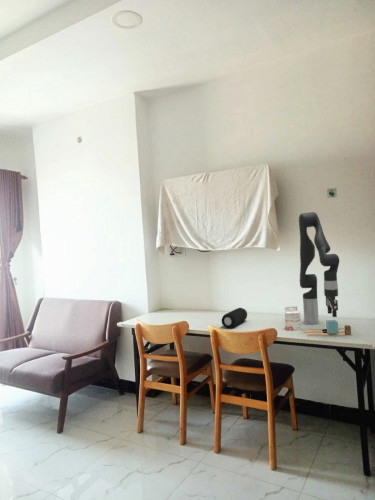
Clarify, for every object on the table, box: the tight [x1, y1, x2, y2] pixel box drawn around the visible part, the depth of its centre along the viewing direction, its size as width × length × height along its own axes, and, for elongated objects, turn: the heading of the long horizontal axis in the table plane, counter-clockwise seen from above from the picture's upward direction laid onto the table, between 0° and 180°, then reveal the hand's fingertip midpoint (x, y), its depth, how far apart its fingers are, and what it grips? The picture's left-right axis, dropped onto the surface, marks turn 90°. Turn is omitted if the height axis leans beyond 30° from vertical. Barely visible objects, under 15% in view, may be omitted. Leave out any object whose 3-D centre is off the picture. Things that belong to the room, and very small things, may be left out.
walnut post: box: [343, 324, 352, 336], centre depth 206 cm, size 3×3×5 cm
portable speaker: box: [221, 307, 248, 329], centre depth 249 cm, size 26×10×10 cm, turn 148°
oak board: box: [302, 327, 353, 338], centre depth 213 cm, size 16×25×1 cm, turn 85°
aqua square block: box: [325, 319, 339, 334], centre depth 209 cm, size 5×5×7 cm
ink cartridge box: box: [284, 305, 302, 332], centre depth 225 cm, size 9×5×15 cm, turn 92°
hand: (332, 315), depth 209 cm, fingers open, 8 cm apart
